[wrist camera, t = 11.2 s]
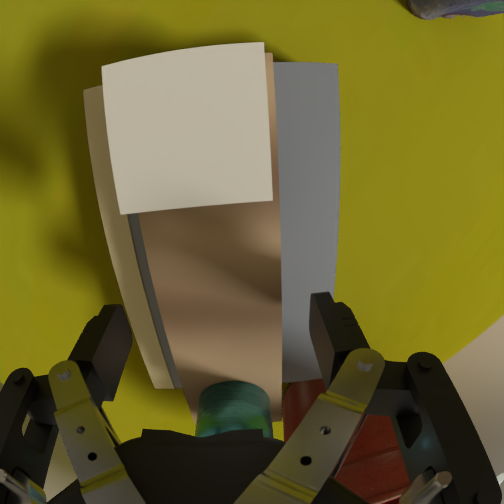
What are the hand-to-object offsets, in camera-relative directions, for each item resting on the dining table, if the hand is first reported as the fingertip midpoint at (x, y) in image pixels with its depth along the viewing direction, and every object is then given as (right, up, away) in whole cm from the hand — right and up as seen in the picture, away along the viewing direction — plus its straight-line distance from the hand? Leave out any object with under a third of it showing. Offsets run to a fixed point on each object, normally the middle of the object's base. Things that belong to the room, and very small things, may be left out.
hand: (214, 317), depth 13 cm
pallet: (0, +2, +5) cm, 5 cm away
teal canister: (0, -6, +4) cm, 7 cm away
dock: (0, +4, +9) cm, 10 cm away
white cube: (0, +7, -2) cm, 8 cm away
